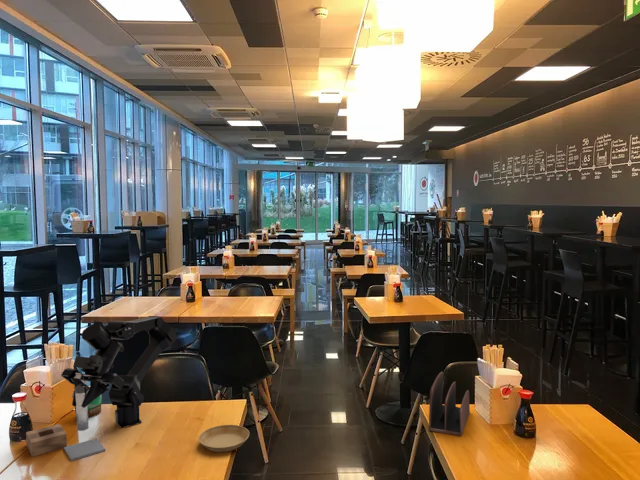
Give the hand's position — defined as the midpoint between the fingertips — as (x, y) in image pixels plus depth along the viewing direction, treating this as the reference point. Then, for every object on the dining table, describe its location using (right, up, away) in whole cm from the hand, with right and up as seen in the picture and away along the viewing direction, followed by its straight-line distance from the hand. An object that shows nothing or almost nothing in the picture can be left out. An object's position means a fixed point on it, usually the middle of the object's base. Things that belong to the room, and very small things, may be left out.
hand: (78, 406), depth 141 cm
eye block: (-12, -13, +5) cm, 18 cm away
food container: (-8, -12, +28) cm, 32 cm away
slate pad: (+1, -13, +2) cm, 14 cm away
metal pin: (+1, -7, +2) cm, 7 cm away
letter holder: (+112, -12, +19) cm, 114 cm away
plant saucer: (+41, -13, +5) cm, 43 cm away
